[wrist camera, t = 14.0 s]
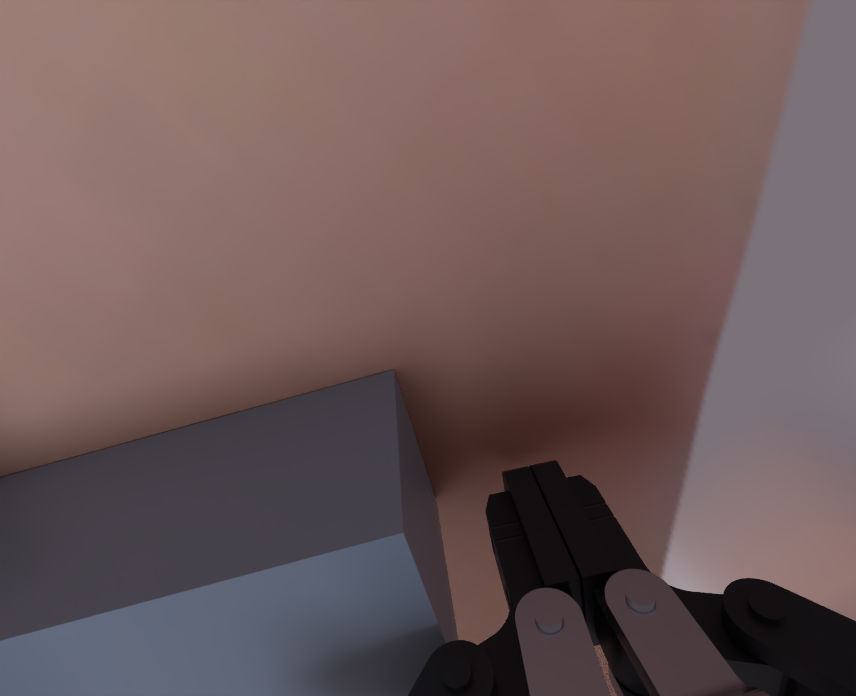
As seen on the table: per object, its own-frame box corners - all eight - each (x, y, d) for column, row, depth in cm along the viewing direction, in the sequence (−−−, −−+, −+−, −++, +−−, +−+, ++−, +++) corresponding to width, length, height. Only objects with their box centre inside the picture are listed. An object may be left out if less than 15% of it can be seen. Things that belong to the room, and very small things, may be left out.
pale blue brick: (436, 498, 15) (467, 700, 10) (90, 591, 15) (-71, 840, 10) (393, 369, 13) (403, 532, 8) (-7, 479, 13) (-280, 715, 8)
